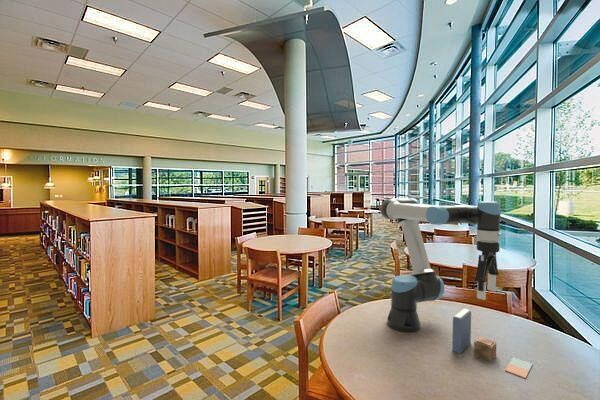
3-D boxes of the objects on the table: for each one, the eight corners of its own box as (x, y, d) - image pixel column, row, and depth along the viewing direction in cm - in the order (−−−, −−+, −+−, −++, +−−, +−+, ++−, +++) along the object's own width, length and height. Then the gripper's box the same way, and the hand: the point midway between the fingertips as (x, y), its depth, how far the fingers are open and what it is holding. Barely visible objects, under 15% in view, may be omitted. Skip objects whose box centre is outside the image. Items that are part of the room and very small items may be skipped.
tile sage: (509, 364, 110) (509, 363, 110) (512, 358, 114) (513, 357, 114) (529, 371, 105) (529, 370, 105) (532, 364, 110) (532, 363, 110)
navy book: (452, 350, 119) (453, 316, 119) (462, 340, 127) (463, 307, 127) (460, 353, 117) (461, 318, 116) (470, 343, 125) (471, 310, 124)
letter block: (473, 355, 116) (474, 340, 116) (478, 349, 120) (479, 335, 120) (492, 362, 111) (492, 346, 111) (496, 356, 115) (496, 341, 115)
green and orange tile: (504, 370, 106) (504, 369, 106) (509, 364, 110) (509, 363, 110) (525, 378, 101) (525, 377, 101) (529, 371, 105) (529, 370, 105)
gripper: (489, 246, 103) (488, 305, 104) (507, 238, 120) (506, 289, 121) (466, 243, 108) (465, 299, 109) (486, 236, 125) (485, 285, 126)
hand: (486, 294), depth 115 cm, fingers open, 13 cm apart
